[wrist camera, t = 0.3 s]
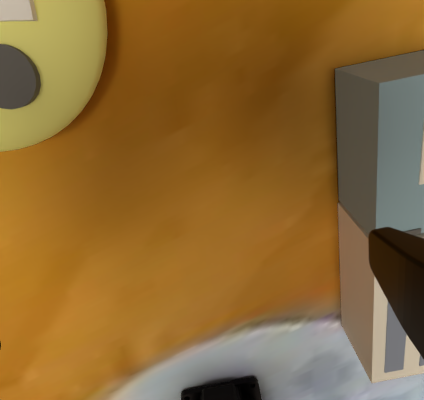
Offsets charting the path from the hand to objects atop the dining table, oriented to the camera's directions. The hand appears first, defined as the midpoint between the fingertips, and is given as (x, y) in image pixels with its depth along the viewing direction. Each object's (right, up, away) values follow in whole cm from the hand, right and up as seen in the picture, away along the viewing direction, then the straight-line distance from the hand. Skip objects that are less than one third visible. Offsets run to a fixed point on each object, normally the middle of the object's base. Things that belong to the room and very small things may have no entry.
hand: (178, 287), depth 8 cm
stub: (+10, +6, +13) cm, 18 cm away
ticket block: (+12, -2, +17) cm, 21 cm away
